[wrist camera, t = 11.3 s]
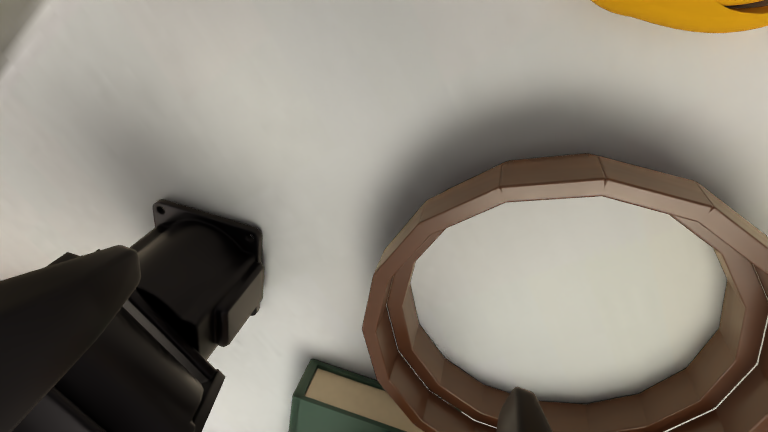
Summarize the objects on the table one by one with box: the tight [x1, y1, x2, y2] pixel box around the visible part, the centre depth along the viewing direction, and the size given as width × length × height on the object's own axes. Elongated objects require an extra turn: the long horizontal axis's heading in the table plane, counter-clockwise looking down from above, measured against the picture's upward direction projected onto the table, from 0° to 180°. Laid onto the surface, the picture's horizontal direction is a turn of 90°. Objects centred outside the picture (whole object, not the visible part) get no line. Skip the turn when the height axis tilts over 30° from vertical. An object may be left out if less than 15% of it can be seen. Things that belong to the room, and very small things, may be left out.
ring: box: [362, 153, 768, 432], centre depth 21 cm, size 17×17×4 cm
